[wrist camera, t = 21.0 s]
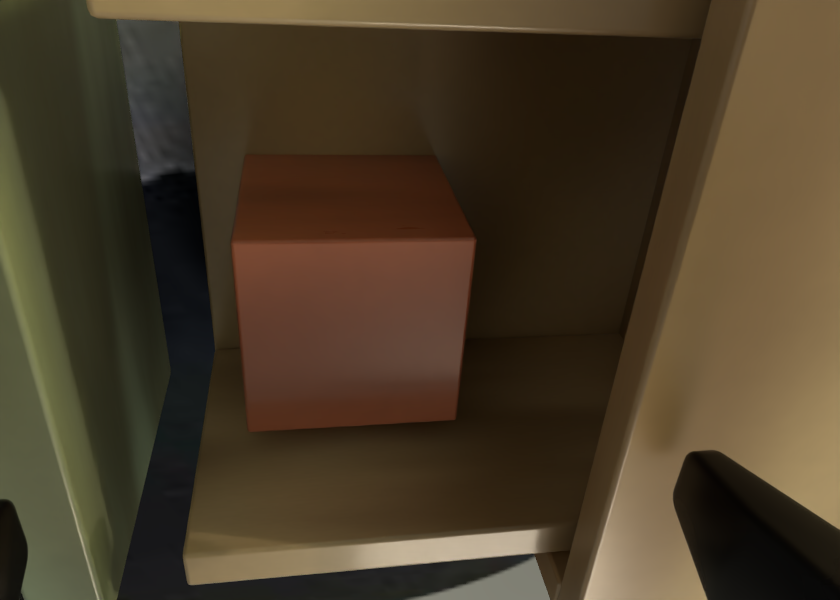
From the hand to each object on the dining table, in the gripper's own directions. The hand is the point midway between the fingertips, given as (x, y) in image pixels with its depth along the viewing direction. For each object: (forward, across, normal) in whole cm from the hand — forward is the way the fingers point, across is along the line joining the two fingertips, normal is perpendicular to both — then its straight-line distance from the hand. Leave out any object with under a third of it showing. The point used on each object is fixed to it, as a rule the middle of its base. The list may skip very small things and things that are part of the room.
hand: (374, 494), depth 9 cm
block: (+8, 0, 0) cm, 8 cm away
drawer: (+9, +1, -2) cm, 9 cm away
